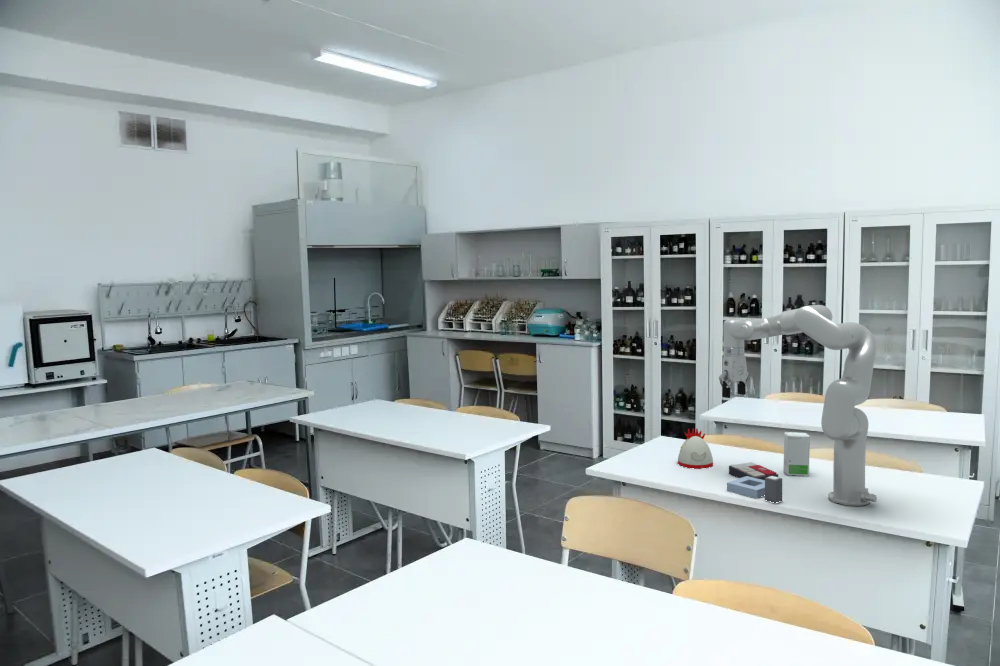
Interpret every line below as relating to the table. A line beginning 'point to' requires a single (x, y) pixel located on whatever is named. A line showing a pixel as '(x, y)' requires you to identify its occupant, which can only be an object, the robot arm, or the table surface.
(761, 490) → the outlet plate
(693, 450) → the kitchen timer
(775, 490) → the block
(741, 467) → the calculator
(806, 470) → the skincare box
